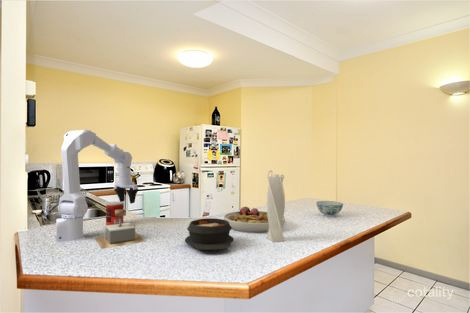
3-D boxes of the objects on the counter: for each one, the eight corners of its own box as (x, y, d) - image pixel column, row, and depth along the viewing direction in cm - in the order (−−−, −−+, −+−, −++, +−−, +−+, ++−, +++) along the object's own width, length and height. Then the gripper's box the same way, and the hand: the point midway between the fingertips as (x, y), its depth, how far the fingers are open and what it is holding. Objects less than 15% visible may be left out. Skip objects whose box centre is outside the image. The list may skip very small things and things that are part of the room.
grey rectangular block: (110, 244, 99) (110, 230, 99) (105, 238, 106) (105, 225, 106) (137, 240, 105) (137, 226, 105) (131, 234, 112) (131, 222, 112)
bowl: (297, 231, 124) (297, 214, 124) (237, 237, 113) (237, 218, 113) (266, 218, 152) (266, 204, 152) (215, 222, 141) (215, 207, 141)
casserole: (183, 236, 112) (183, 216, 112) (226, 234, 117) (226, 214, 117) (186, 257, 88) (187, 231, 88) (241, 253, 92) (241, 228, 93)
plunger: (112, 232, 100) (112, 212, 101) (108, 228, 106) (109, 209, 106) (131, 229, 104) (132, 210, 105) (127, 226, 110) (127, 208, 110)
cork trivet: (101, 250, 94) (101, 248, 94) (94, 239, 107) (94, 238, 107) (147, 242, 103) (147, 241, 103) (135, 233, 116) (135, 232, 116)
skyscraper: (262, 237, 111) (262, 170, 112) (278, 236, 114) (278, 170, 114) (271, 243, 104) (272, 171, 104) (288, 241, 106) (288, 170, 107)
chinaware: (345, 215, 161) (345, 202, 161) (340, 219, 148) (340, 205, 148) (319, 212, 169) (319, 200, 169) (313, 216, 156) (313, 203, 156)
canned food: (126, 223, 135) (126, 201, 135) (117, 227, 127) (118, 204, 127) (111, 223, 135) (112, 201, 136) (102, 227, 127) (102, 203, 128)
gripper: (141, 175, 133) (143, 201, 135) (122, 173, 140) (124, 198, 142) (129, 177, 127) (132, 205, 129) (110, 176, 134) (112, 202, 136)
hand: (127, 202), depth 135 cm, fingers open, 7 cm apart
